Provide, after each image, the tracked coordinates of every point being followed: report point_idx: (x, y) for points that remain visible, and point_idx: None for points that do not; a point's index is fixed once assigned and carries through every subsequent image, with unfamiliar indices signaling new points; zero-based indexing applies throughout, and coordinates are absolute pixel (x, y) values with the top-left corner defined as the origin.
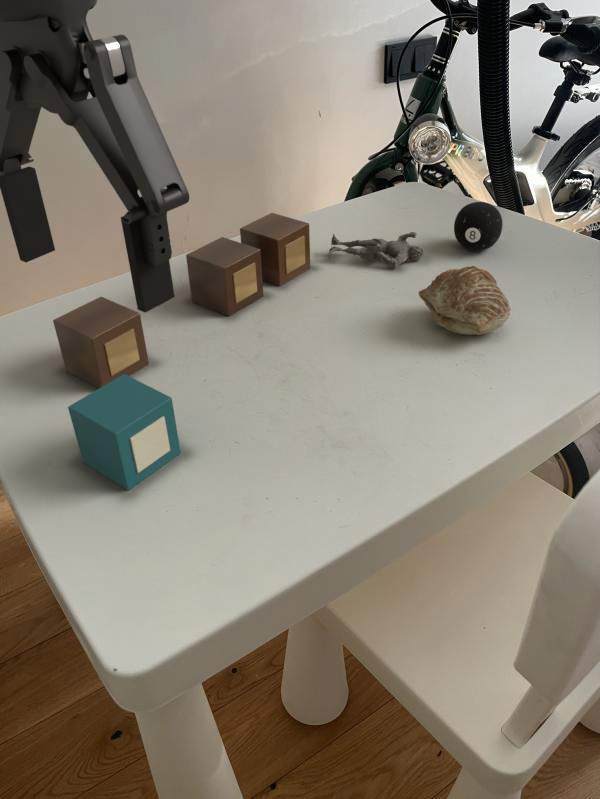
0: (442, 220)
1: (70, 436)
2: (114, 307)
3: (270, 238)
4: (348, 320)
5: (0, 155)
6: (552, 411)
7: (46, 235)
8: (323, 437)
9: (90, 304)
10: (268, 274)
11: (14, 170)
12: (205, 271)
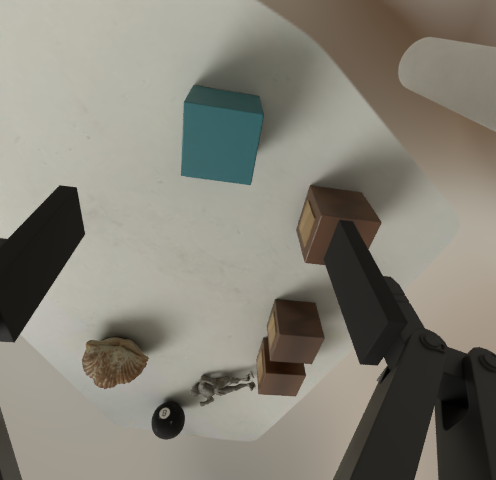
0: (210, 419)
1: (296, 120)
2: None
3: (273, 373)
4: (191, 324)
5: (398, 366)
6: None
7: (331, 270)
8: (109, 216)
9: None
10: None
11: (390, 348)
12: (301, 328)
